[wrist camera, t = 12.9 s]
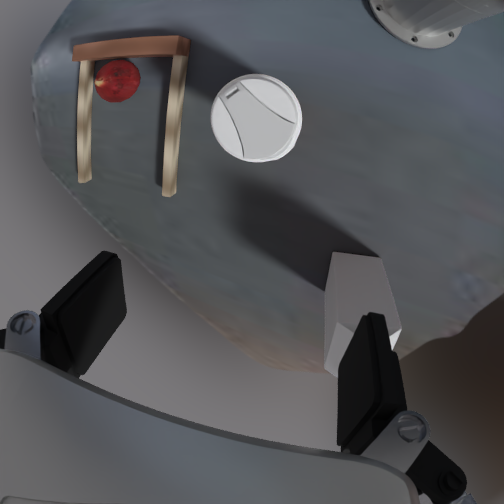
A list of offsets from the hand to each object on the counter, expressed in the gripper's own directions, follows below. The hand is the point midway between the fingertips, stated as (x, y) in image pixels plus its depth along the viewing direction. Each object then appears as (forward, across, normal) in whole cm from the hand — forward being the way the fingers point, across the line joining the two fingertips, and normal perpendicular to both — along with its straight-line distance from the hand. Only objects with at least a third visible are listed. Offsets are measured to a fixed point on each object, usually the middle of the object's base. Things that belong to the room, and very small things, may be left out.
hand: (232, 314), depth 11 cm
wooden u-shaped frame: (+30, +23, -2) cm, 38 cm away
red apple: (+31, +23, -8) cm, 39 cm away
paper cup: (+31, +3, -5) cm, 31 cm away
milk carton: (+31, -12, +15) cm, 36 cm away
